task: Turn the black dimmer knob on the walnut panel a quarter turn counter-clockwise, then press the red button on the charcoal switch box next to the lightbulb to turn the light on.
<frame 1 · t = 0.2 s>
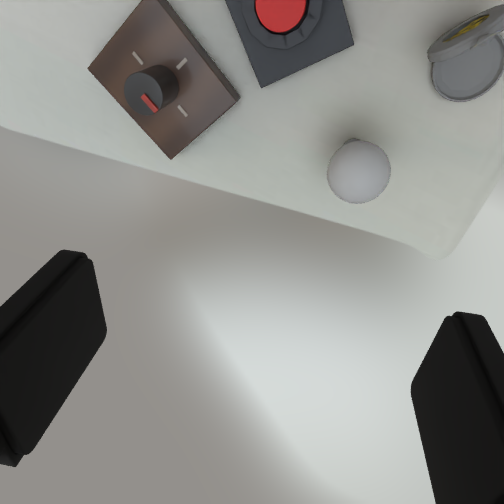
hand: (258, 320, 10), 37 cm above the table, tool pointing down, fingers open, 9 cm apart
lightbulb: (352, 146, 44), on the table
dimmer panel: (169, 81, 42), on the table
switch box: (285, 3, 37), on the table
dimmer knob: (152, 89, 38), point 5 cm above the table, hinge at 0.0°
pocket watch: (462, 52, 37), on the table
light button: (281, 3, 33), point 4 cm above the table, slide at 0.1 cm
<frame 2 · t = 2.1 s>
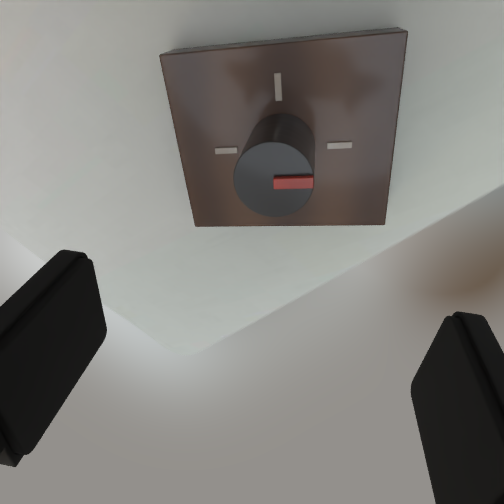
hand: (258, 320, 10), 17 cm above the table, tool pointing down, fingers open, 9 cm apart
dimmer panel: (284, 134, 24), on the table
dimmer knob: (277, 164, 20), point 5 cm above the table, hinge at 0.0°
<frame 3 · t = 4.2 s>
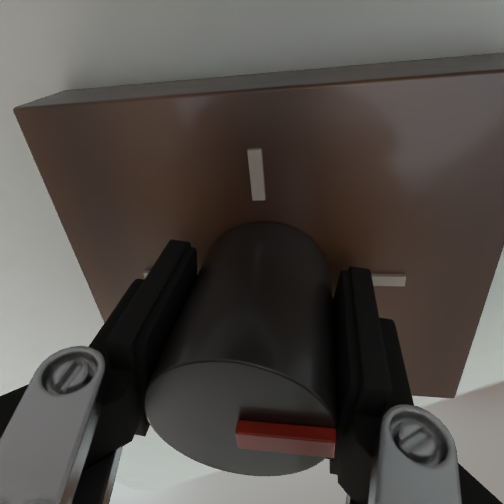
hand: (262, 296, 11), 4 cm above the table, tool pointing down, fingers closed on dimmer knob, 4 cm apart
dimmer panel: (275, 235, 14), on the table
dimmer knob: (254, 340, 9), point 5 cm above the table, hinge at 0.1°, touching gripper
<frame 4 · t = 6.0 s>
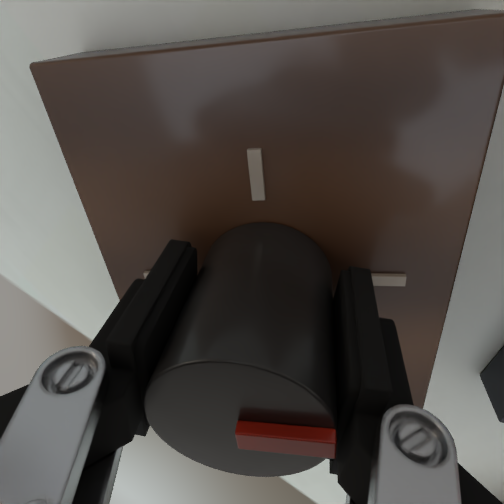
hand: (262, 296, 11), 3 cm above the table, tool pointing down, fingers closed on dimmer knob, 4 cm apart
dimmer panel: (275, 235, 14), on the table
dimmer knob: (254, 340, 9), point 5 cm above the table, hinge at 90.0°, touching gripper
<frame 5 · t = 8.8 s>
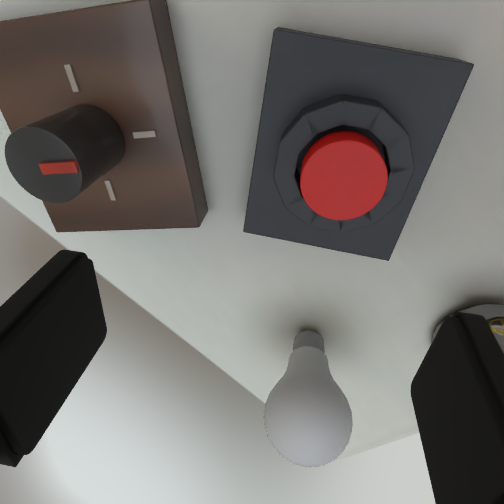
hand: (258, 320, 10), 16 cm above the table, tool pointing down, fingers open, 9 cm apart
lightbulb: (308, 333, 33), on the table
dimmer panel: (112, 127, 25), on the table
switch box: (337, 150, 23), on the table
dimmer knob: (69, 152, 20), point 5 cm above the table, hinge at 89.4°
pocket watch: (479, 321, 29), on the table
light button: (342, 176, 20), point 4 cm above the table, slide at 0.1 cm
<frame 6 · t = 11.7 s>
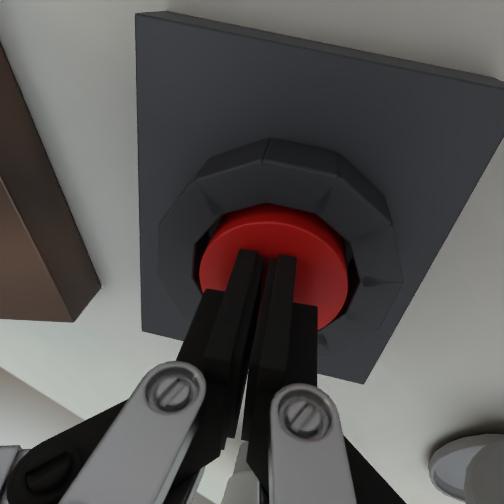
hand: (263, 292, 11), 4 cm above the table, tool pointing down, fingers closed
lightbulb: (261, 437, 24), on the table
switch box: (284, 216, 14), on the table
pocket watch: (497, 445, 20), on the table
light button: (274, 269, 12), point 3 cm above the table, slide at -0.9 cm, touching gripper
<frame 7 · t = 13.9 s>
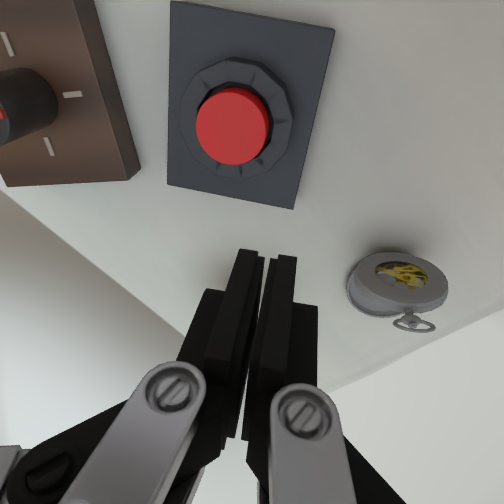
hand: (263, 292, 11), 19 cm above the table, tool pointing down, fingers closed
dimmer panel: (51, 92, 28), on the table
switch box: (244, 111, 27), on the table
dimmer knob: (4, 106, 24), point 5 cm above the table, hinge at 89.4°
pocket watch: (387, 271, 33), on the table
light button: (233, 127, 23), point 4 cm above the table, slide at 0.1 cm
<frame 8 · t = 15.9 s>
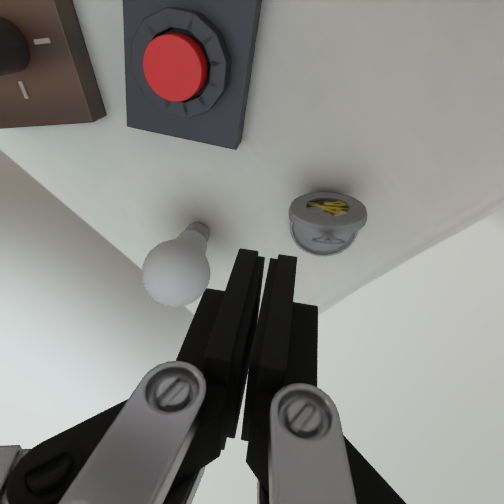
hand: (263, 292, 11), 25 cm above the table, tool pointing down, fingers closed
lightbulb: (200, 228, 40), on the table
dimmer panel: (26, 42, 32), on the table
switch box: (193, 60, 31), on the table
pocket watch: (326, 212, 37), on the table
light button: (175, 67, 27), point 4 cm above the table, slide at 0.1 cm
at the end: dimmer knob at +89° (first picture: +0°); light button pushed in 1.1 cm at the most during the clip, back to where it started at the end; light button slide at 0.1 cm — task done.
